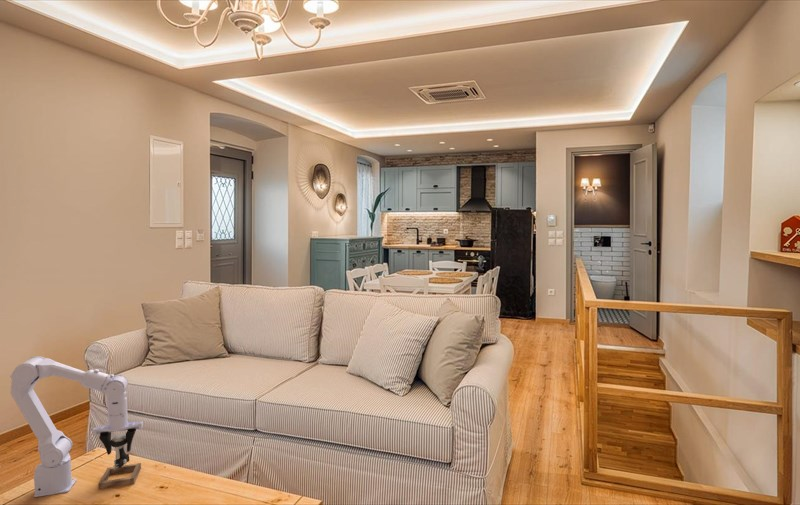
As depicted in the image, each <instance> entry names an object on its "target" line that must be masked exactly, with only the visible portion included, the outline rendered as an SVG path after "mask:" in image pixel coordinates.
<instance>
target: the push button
mask: <svg viewBox="0 0 800 505" xmlns="http://www.w3.org/2000/svg"><path fill="white" fill-rule="evenodd" d="M110 443H111V448H114V449H115V459H114V461H113V463H114V465H113V466H112V467H115V468H116V469H117V468H121V467H122V466H123V465H128V464H127V463H129V462H130V454H129V453H127V451H126V447H125V445H127V438H126V434H123V433H121V434H117V435H114V436H113V437H112V438H111V441H110ZM115 468H114V469H113V470H115Z"/></svg>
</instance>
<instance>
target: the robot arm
mask: <svg viewBox="0 0 800 505" xmlns="http://www.w3.org/2000/svg"><path fill="white" fill-rule="evenodd" d="M52 376H53V377H54V376H55V377H58V378H63V379H67V380H72V381H75V382H80V384H81V386H82V387H83V388H87V389H90V390H93V391H96V392H97V391H98V392H101V393H104V394H105V395H106V397H107V401H106V402H107V424H105V425H100V426H95V427H94V428H93V429H92V435H93V436H96V435H99V436H98V437H99V440H100V441H101V443H102V445H103V446H104V447H105V450H106V453H107V455H108V456H109V455H111V453H112V448H113V447H112V446H111V443H110V441H111V440H112V433H114V432H122V431H126V433H125V436H126V438H127V443H126V453H128V452H130V451H131V450H132V449H131V448H132V443H133V439H134V436H135V433H136V431H137V429H138V430H142V429H143V428H144V421H129V417H128V416H129V415H128V413H129V412H128V397H127V395H128V394H127V388H128V385H129V381H128V378H127V377H126V376H123V375H122V374H116V375H115V374H113V373H111V374H109V373H105V372H101V371H100V369H98V368H95V369H89V370H87V371H84V370H82V369H78V368H75V367H72V366H70V365H67V364H64V363H61V362H58V361H56V360H54V359H51V358H49V357H43V356H40V355H36V356H31V357H30V358H29V359H27V360H26V361H24V362H23V363H21V364H18V365H17V366H16V367H15V368H14V370H13V371H12V372H11V375H10V379H11V386H10V394H11V397H12V399H13V400H14V402H15V403H16V405H17V407H18V409H19V411H20V412H21V414H22V415H23V417H24V419H25V421H26V422H27V424H28V425H29V427H30V429H31V431H32V432H33V434H34V436H35V437H36V439H37V440H38V441H37V442H38V444H37V451H38V453H39V460H40V463H39V464H38V465H36V466H35V468H34V472H33V473H34V474H33V483H34V495H33V497H34V498H39V497H45V496H51V495H58V494H63V493H68V492H70V491H71V489H72V488H73V486H74V484H75V482H76V481H77V478H72V458H71V455H70V451H71V450H72V449H73V441H72V439H71V438H69V437H67V436H66V435H65V434H64V432H63V431H62V430H59V429H57V427H56V426H55V424H54V423H53V421H52V419H51V417H50V415H49V414H48V413H47V411H46V409H45V407H44V405H43V404H42V402H41V400H40V398H39V396H38V395H37V393H36V391H35V390H34V388H35V386H36V384H37V382H38V381H39V380H42V379H44V378H49V377H52Z"/></svg>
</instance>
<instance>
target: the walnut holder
mask: <svg viewBox="0 0 800 505" xmlns="http://www.w3.org/2000/svg"><path fill="white" fill-rule="evenodd" d="M114 468H115V467H113V466H111V467H107V468H106V470H105V471H104V472H103V475H102V476H101V478H100V480H99V482H98V484H97V488H98V490H100V491H101V490H107V489H111V488H118V487H125V486H130V485H135V483H136V481H137V479H138V476H139V474H140V472H141V469H142V463H141V462H137V463H132V464H131V463H130V464H124V465H123V466H122V467H121V468H117V469H116V468H115V470H113V469H114ZM129 472H132V474H131V476H129V477H122V478H115V479H110V480H109V478H110V476H112V475H116V474H122V473H124V474H125V473H129Z"/></svg>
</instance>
